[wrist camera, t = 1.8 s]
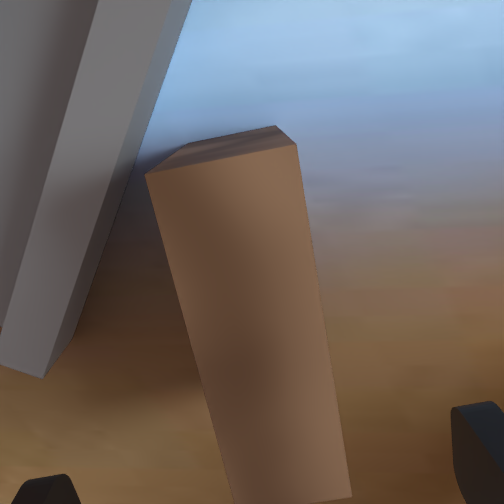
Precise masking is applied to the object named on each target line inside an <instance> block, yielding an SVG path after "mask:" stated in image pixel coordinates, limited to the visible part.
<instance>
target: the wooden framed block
mask: <svg viewBox="0 0 504 504" xmlns="http://www.w3.org/2000/svg"><path fill="white" fill-rule="evenodd" d="M144 175H145V179H146V183H147V186H148V190H149V194H150V197H151V201H152V204H153V208H154V212H155V215H156V219H157V223H158V226H159V230H160V234H161V237H162V241H163V245H164V248H165V252H166V255H167V259H168V263H169V266H170V270H171V274H172V277H173V281H174V285H175V288H176V292H177V295H178V299H179V303H180V306H181V310H182V314H183V317H184V321H185V325H186V328H187V332H188V336H189V339H190V343H191V346H192V350H193V354H194V357H195V361H196V365H197V368H198V372H199V376H200V379H201V383H202V387H203V390H204V394H205V397H206V401H207V405H208V408H209V412H210V416H211V419H212V423H213V427H214V430H215V434H216V438H217V441H218V445H219V448H220V452H221V456H222V459H223V463H224V467H225V470H226V474H227V478H228V481H229V485H230V489H231V492H232V496H233V499H234V503H235V504H311V503H317V502H324V501H330V500H337V499H343V498H350V497H352V492H351V486H350V479H349V473H348V467H347V460H346V454H345V448H344V441H343V435H342V429H341V423H340V416H339V410H338V404H337V397H336V391H335V385H334V378H333V372H332V366H331V359H330V353H329V347H328V341H327V334H326V328H325V322H324V315H323V309H322V303H321V296H320V290H319V284H318V277H317V271H316V265H315V259H314V252H313V246H312V240H311V233H310V227H309V221H308V214H307V208H306V202H305V195H304V189H303V183H302V176H301V170H300V164H299V158H298V151H297V145H296V143H295V142H294V141H292V140H291V139H290V138H289V137H288V136H287V135H286V134H285V133H283V132H282V131H281V130H280V129H279V128H278V127H277V126H276V125H275V126H270V127H265V128H260V129H255V130H250V131H245V132H241V133H236V134H231V135H226V136H221V137H216V138H211V139H206V140H201V141H196V142H191V143H188V144H186V145H185V146H184V147H182V148H181V149H179V150H178V151H177V152H175V153H174V154H172V155H171V156H169V157H168V158H167V159H165V160H164V161H162V162H161V163H160V164H158V165H157V166H155V167H154V168H153V169H151V170H150V171H148V172H147V173H146V174H144Z"/></svg>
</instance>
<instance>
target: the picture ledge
mask: <svg viewBox="0 0 504 504" xmlns="http://www.w3.org/2000/svg"><path fill="white" fill-rule="evenodd" d="M191 2H192V0H0V326H1V327H3V328H2V331H1V334H0V365H3V366H6V367H9V368H12V369H15V370H17V371H20V372H23V373H26V374H29V375H32V376H35V377H38V378H40V379H43V378H44V377H45V375H46V374H47V372H48V371H49V370H50V368H51V367H52V366H53V364H54V363H55V362H56V360H57V359H58V358H59V356H60V355H61V353H62V352H63V351H64V349H65V348H66V347H67V345H68V344H69V343H70V341H71V340H72V338H73V335H74V332H75V329H76V327H77V324H78V321H79V318H80V315H81V312H82V310H83V307H84V304H85V301H86V298H87V296H88V293H89V290H90V287H91V284H92V281H93V279H94V276H95V273H96V270H97V267H98V264H99V262H100V259H101V256H102V253H103V250H104V247H105V245H106V242H107V239H108V236H109V233H110V231H111V228H112V225H113V222H114V219H115V216H116V214H117V211H118V208H119V205H120V202H121V199H122V197H123V194H124V191H125V188H126V185H127V183H128V180H129V177H130V174H131V171H132V168H133V166H134V163H135V160H136V157H137V154H138V151H139V149H140V146H141V143H142V140H143V137H144V134H145V132H146V129H147V126H148V123H149V120H150V118H151V115H152V112H153V109H154V106H155V103H156V101H157V98H158V95H159V92H160V89H161V86H162V84H163V81H164V78H165V75H166V72H167V70H168V67H169V64H170V61H171V58H172V55H173V53H174V50H175V47H176V44H177V41H178V38H179V36H180V33H181V30H182V27H183V24H184V22H185V19H186V16H187V13H188V10H189V7H190V5H191Z"/></svg>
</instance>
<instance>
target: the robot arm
mask: <svg viewBox="0 0 504 504" xmlns="http://www.w3.org/2000/svg"><path fill="white" fill-rule="evenodd" d="M451 430H452V447H453V464H454V471H455V475H456V479H457V482H458V485H459V488H460V491H461V493H462V495H463V497H464V499H465V501H466V503H467V504H504V413H503V412H502V410H501V409H500V408H499V407H498V406H497V405H496V404H495V403H494V402H492V401H486V402H481V403H475V404H469V405H463V406H458V407H453V408H452V410H451ZM11 504H81V502H80V500H79V498H78V495H77V493H76V491H75V488H74V486H73V484H72V481H71V479H70V478H69V476H67V475H66V474H59V475H53V476H48V477H42V478H36V479H30V480H27V481H26V482H24V484H23V485H22V486H21V487H20V489H19V491H18V493H17V494H16V496H15V498H14V500H13V501H12V503H11Z"/></svg>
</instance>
